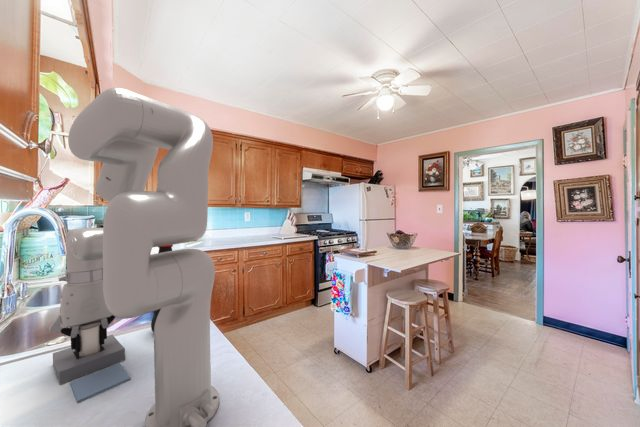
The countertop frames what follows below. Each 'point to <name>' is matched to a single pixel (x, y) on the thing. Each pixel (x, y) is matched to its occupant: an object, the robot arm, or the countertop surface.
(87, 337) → the plug
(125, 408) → the countertop surface
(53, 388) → the countertop surface
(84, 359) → the socket block
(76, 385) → the mat
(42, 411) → the countertop surface
